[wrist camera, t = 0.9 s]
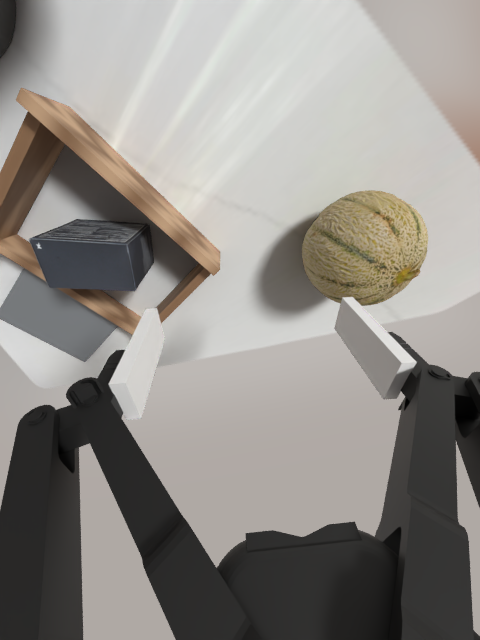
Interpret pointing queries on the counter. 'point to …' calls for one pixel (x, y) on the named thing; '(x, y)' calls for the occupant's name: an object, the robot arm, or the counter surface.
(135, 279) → the small box
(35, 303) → the mat
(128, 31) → the counter surface
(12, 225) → the open wooden tray
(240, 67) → the counter surface
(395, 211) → the cantaloupe
